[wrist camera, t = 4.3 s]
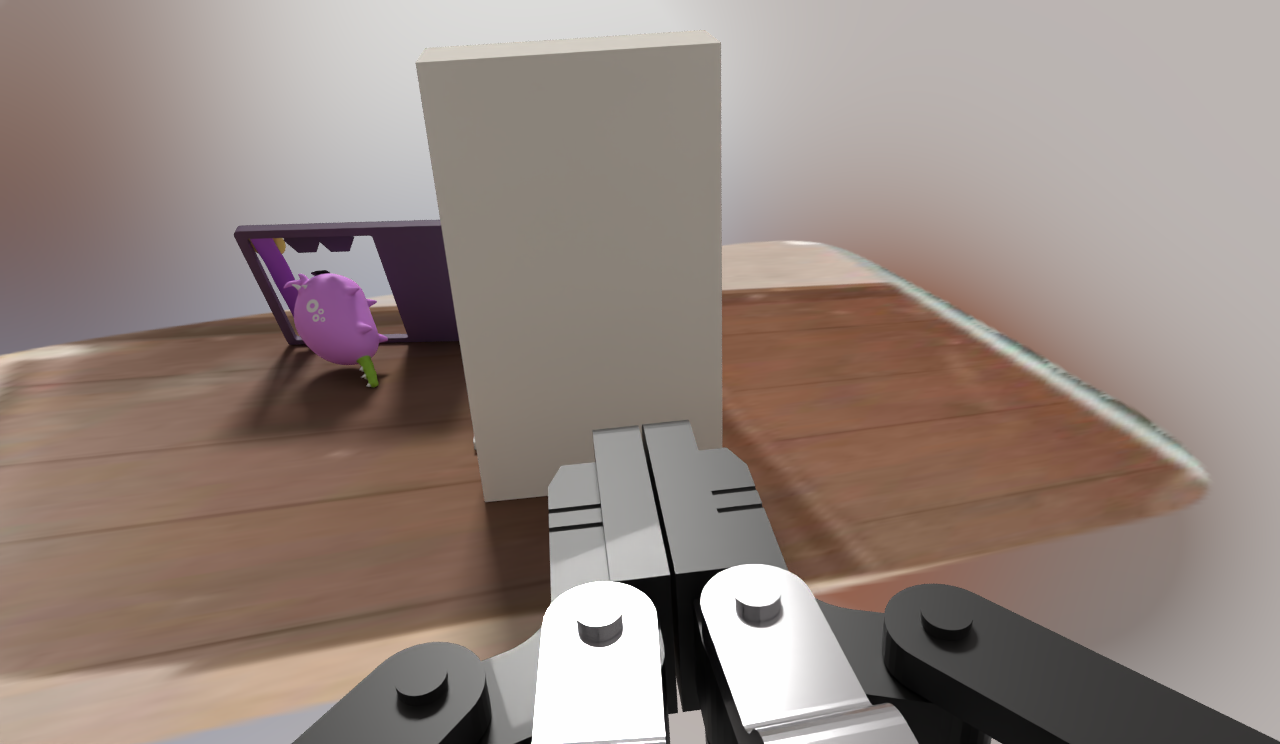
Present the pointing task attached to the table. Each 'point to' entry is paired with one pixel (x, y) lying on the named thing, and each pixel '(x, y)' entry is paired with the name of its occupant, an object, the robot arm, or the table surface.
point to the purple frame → (355, 286)
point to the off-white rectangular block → (580, 240)
